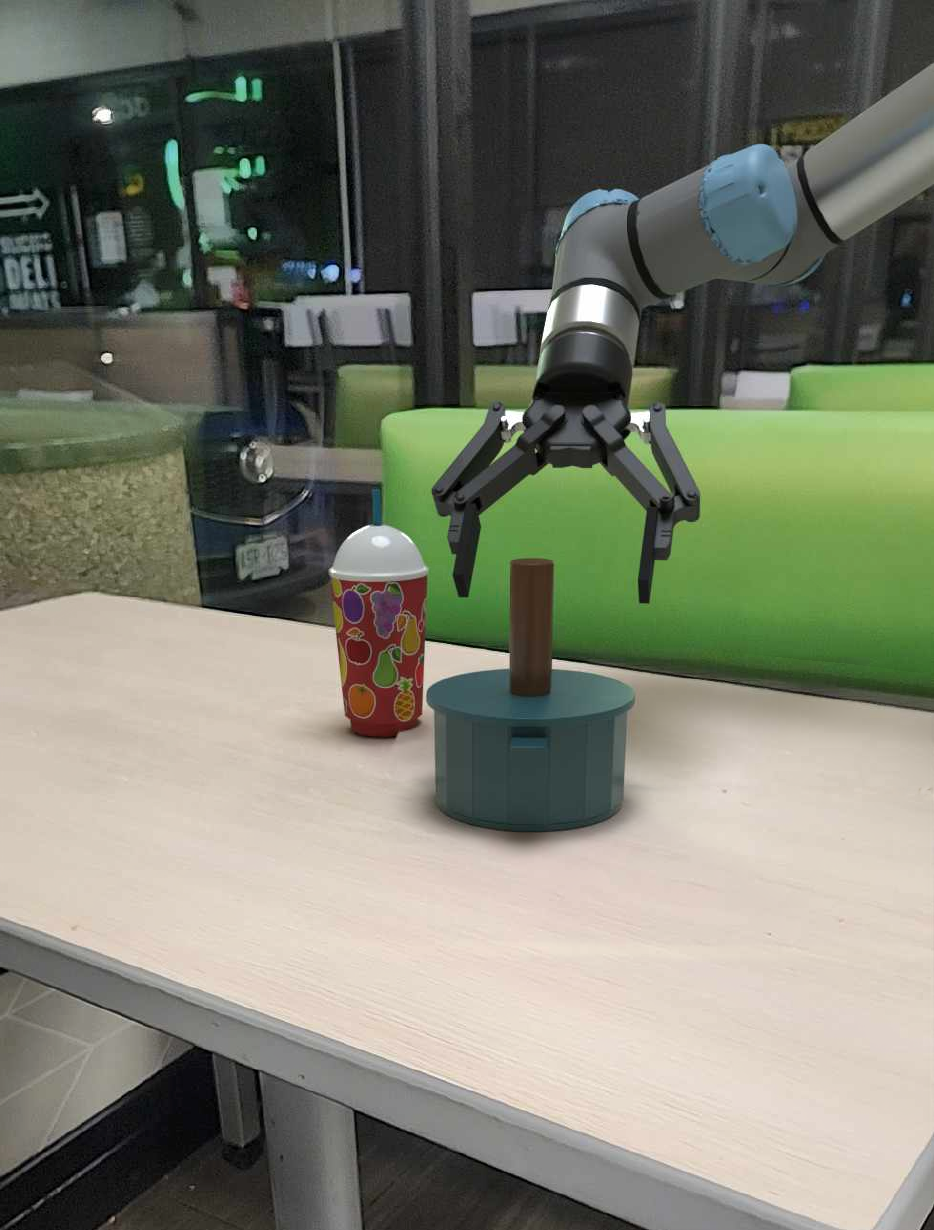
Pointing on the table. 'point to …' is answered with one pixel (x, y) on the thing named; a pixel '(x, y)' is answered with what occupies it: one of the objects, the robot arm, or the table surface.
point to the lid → (530, 670)
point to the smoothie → (380, 627)
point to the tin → (529, 773)
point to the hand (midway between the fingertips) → (550, 589)
